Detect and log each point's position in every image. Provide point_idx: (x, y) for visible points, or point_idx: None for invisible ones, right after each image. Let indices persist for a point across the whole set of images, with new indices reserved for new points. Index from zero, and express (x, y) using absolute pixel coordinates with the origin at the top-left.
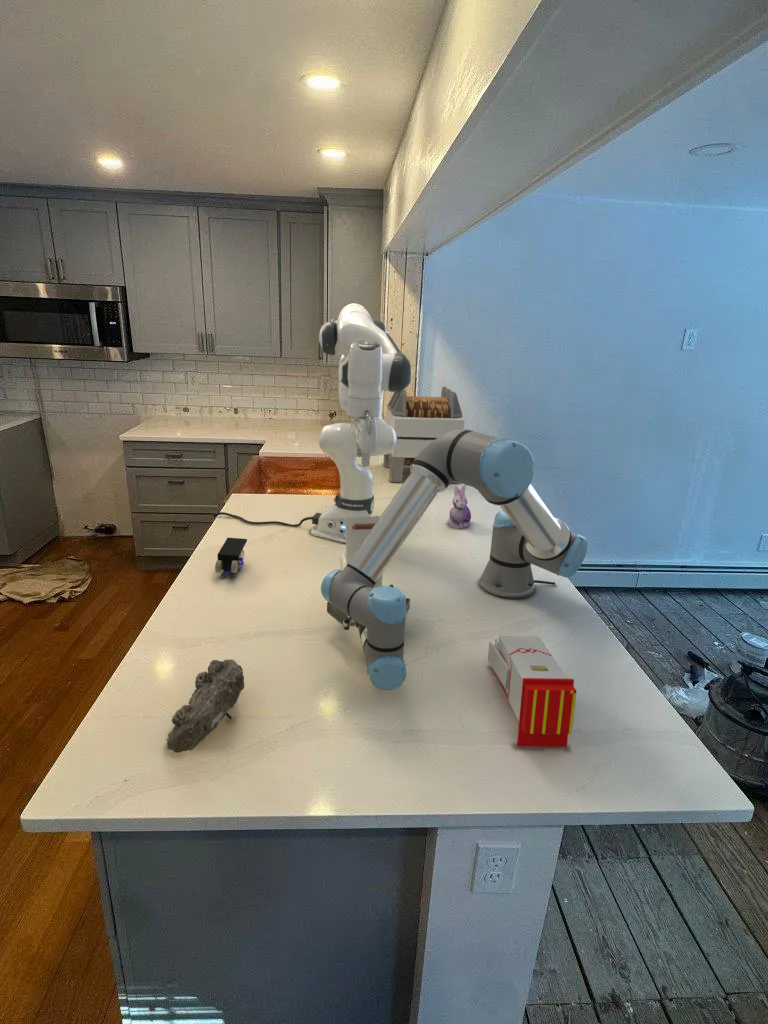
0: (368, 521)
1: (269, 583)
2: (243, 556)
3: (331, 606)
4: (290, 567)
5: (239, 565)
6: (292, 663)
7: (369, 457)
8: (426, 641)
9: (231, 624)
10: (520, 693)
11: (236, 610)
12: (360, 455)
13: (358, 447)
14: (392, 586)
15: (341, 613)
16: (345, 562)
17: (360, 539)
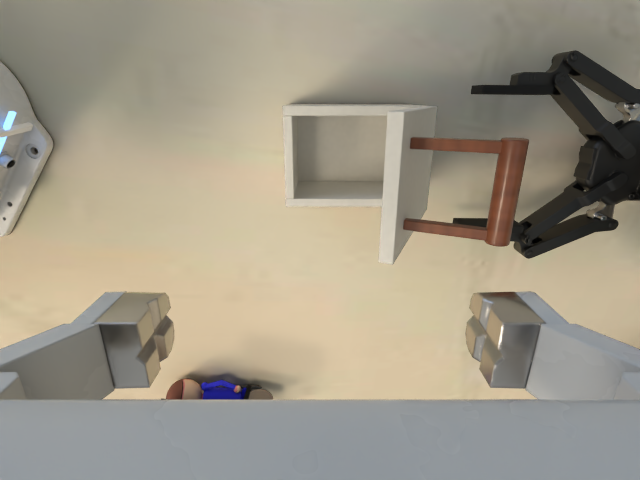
0: (404, 169)
1: (286, 326)
2: (190, 383)
3: (547, 250)
4: (211, 288)
5: (233, 387)
6: (572, 291)
7: (616, 347)
8: (592, 26)
9: (429, 377)
10: None
11: (384, 373)
12: (159, 325)
13: (80, 394)
14: (494, 87)
15: (584, 233)
16: (351, 202)
17: (415, 189)
